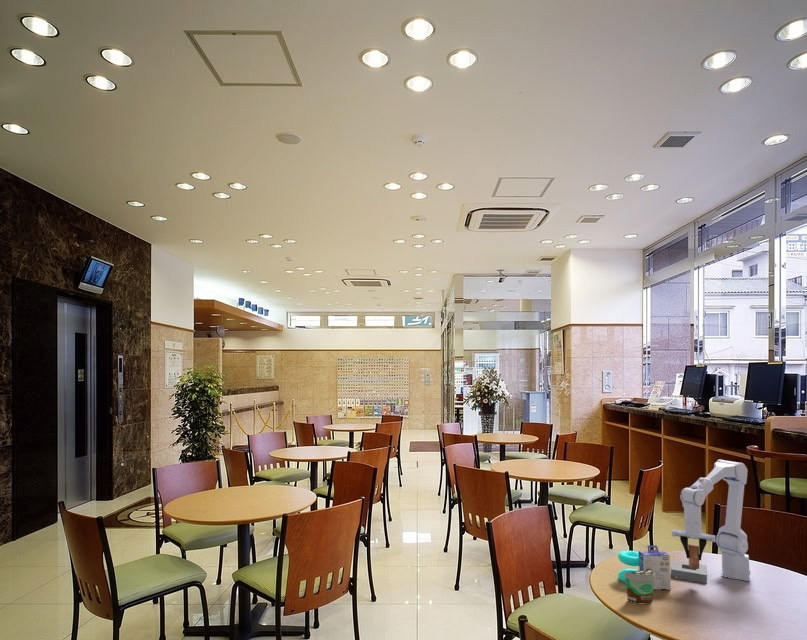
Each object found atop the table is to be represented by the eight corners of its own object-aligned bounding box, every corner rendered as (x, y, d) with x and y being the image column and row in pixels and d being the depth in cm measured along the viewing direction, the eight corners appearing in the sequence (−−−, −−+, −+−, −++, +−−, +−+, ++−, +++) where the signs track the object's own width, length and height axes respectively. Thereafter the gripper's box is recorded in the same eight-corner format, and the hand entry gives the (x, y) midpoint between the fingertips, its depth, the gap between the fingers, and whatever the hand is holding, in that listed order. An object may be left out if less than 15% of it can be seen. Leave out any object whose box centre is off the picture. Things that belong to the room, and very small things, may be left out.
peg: (699, 566, 212) (698, 544, 213) (699, 569, 209) (698, 547, 209) (689, 565, 214) (688, 543, 214) (688, 568, 210) (688, 545, 211)
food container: (639, 608, 190) (638, 577, 191) (624, 601, 196) (624, 571, 196) (664, 601, 196) (663, 571, 197) (649, 595, 201) (648, 566, 202)
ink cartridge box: (665, 584, 211) (664, 544, 212) (671, 590, 206) (670, 549, 207) (638, 583, 212) (637, 544, 213) (644, 589, 206) (643, 548, 207)
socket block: (706, 573, 224) (706, 565, 224) (706, 583, 213) (706, 575, 213) (673, 567, 229) (673, 560, 230) (671, 577, 219) (671, 569, 219)
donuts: (652, 557, 212) (629, 559, 209) (652, 584, 211) (629, 587, 208) (634, 548, 221) (612, 550, 219) (635, 575, 221) (612, 577, 218)
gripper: (670, 521, 212) (671, 558, 211) (715, 526, 206) (716, 565, 205) (671, 516, 219) (672, 552, 218) (714, 522, 212) (715, 559, 211)
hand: (693, 558), depth 211 cm, fingers closed on peg, 3 cm apart
